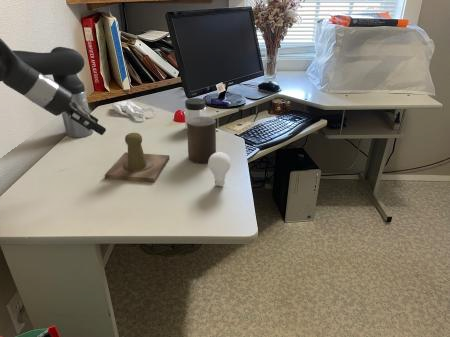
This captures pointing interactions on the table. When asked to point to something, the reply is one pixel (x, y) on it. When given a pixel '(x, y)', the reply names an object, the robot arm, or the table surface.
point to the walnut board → (144, 175)
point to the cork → (135, 151)
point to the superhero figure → (131, 109)
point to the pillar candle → (201, 138)
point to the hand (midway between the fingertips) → (100, 127)
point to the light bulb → (219, 167)
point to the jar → (194, 108)
